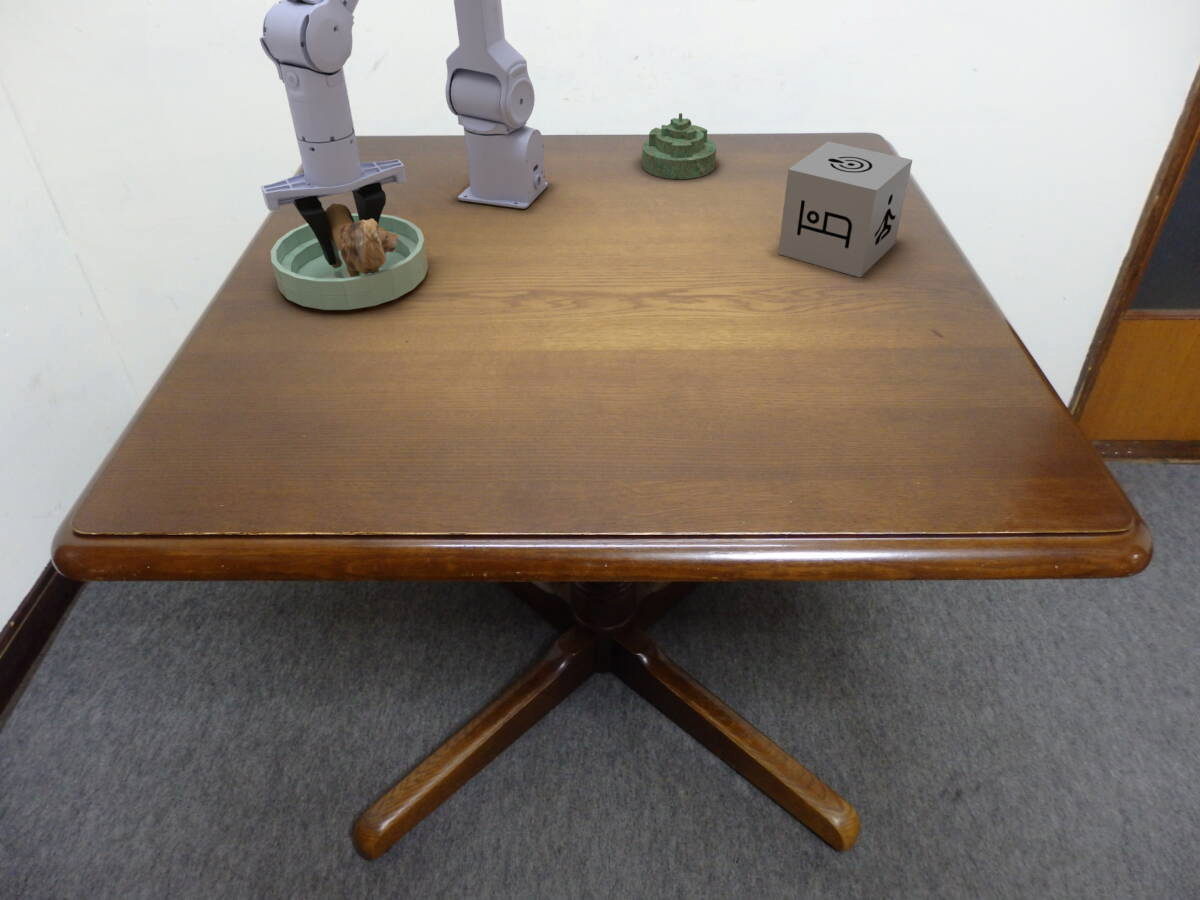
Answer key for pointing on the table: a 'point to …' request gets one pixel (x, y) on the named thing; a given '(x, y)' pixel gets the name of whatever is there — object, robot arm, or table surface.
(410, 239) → the bowl
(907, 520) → the table surface
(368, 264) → the lion figurine
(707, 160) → the decorative artifact
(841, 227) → the icon cube
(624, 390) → the table surface
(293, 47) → the robot arm
